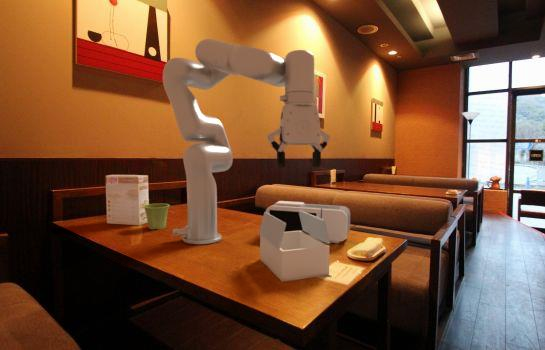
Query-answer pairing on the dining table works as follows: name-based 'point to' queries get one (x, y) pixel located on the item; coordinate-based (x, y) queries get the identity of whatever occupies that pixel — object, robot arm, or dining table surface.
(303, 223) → the far flap
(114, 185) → the coffeecake box
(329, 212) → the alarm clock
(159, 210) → the plant pot
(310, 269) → the carton
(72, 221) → the dining table surface
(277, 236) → the near flap
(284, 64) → the robot arm
